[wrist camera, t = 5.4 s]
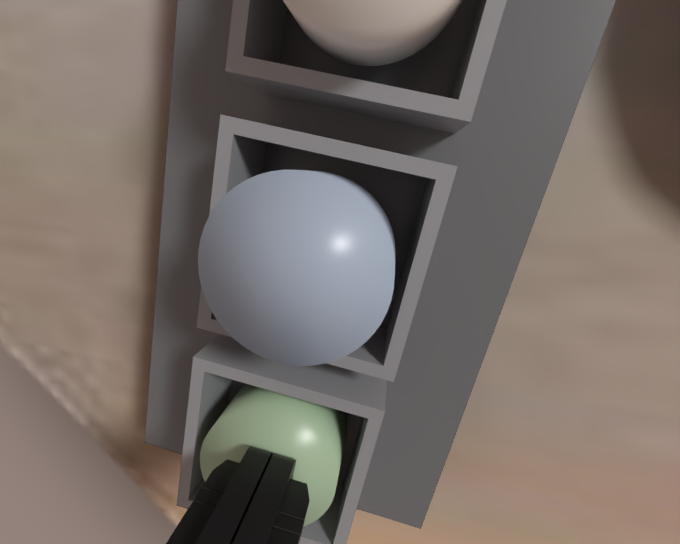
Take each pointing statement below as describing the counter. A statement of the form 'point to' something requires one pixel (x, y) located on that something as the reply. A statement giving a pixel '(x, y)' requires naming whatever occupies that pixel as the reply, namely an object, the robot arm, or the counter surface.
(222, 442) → the green button
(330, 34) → the white button
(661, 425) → the counter surface
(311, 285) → the bluegrey button
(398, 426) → the button panel
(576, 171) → the counter surface
